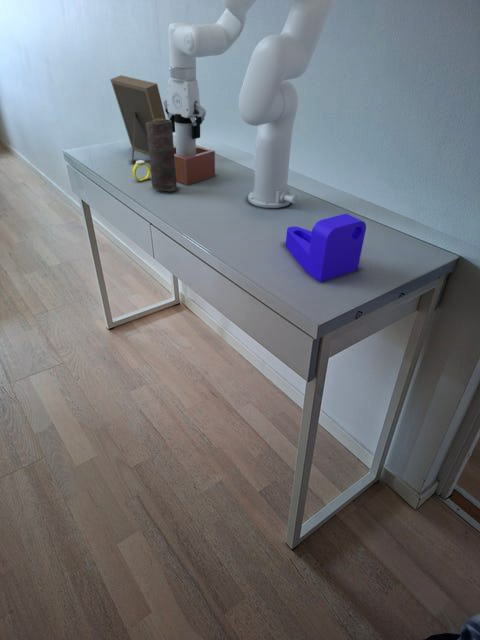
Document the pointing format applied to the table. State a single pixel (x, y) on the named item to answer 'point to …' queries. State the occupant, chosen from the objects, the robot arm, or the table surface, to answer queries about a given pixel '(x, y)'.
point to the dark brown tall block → (161, 154)
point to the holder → (195, 166)
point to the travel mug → (184, 136)
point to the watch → (139, 162)
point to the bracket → (328, 246)
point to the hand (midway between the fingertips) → (184, 135)
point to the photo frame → (137, 108)
